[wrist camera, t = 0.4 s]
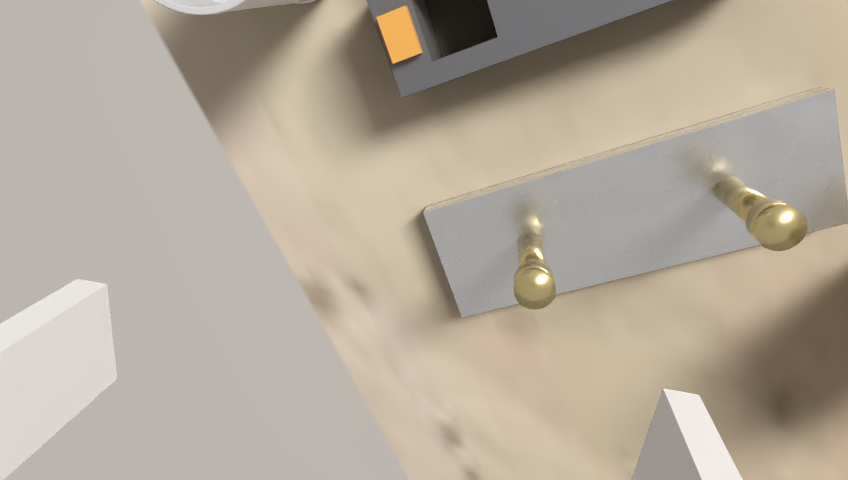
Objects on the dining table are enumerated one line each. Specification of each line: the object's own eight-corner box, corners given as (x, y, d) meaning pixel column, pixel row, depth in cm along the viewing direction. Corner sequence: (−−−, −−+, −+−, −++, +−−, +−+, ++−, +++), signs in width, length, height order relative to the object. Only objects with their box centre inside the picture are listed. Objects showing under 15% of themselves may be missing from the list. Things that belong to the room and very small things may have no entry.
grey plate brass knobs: (463, 307, 40) (452, 375, 32) (426, 206, 37) (404, 253, 29) (836, 214, 34) (933, 271, 26) (820, 86, 31) (922, 107, 23)
